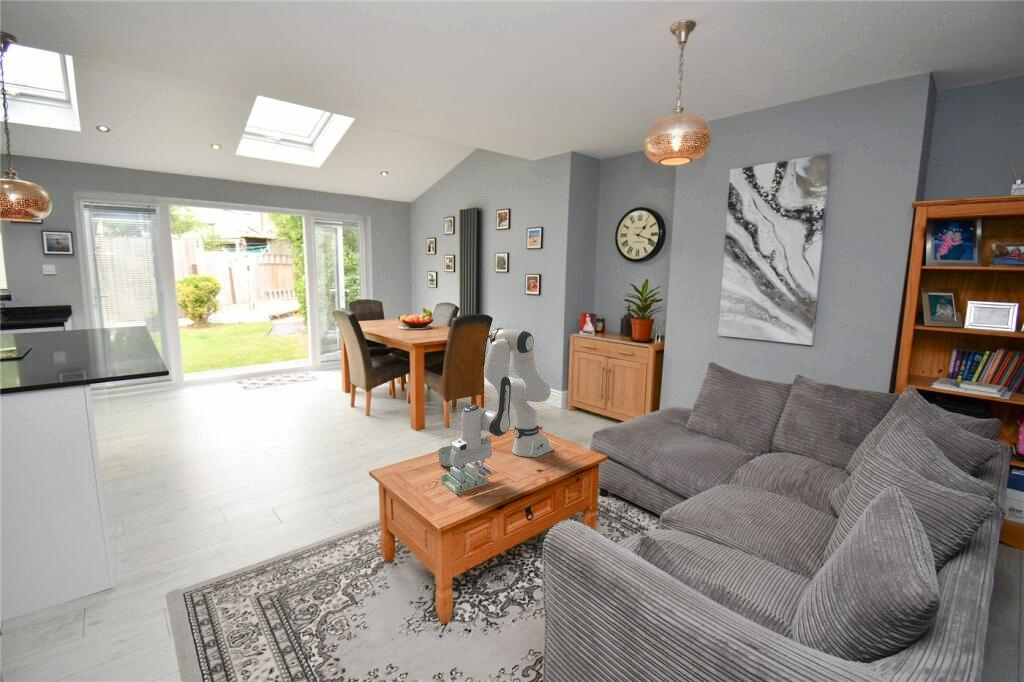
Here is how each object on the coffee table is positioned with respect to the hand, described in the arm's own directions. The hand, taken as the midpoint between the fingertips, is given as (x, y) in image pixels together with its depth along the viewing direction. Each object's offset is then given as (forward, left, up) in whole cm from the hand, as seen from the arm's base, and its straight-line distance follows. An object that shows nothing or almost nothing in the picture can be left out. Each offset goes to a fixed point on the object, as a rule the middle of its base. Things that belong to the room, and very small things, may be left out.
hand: (471, 470), depth 205 cm
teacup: (-1, -23, -5) cm, 24 cm away
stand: (-9, -8, -5) cm, 13 cm away
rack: (+4, 0, -5) cm, 6 cm away
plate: (0, 0, -4) cm, 4 cm away
